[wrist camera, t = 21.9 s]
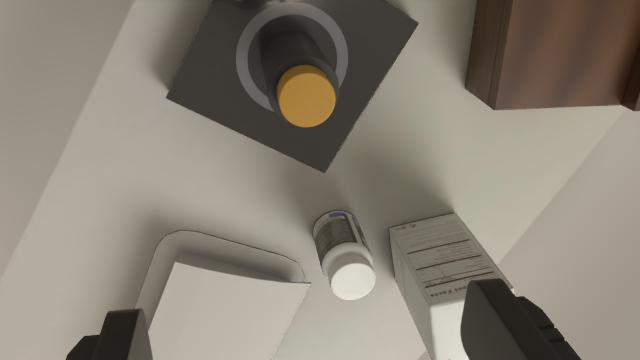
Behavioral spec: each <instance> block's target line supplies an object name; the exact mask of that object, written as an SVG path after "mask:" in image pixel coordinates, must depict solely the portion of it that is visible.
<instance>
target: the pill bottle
mask: <svg viewBox="0 0 640 360" xmlns="http://www.w3.org/2000/svg"><path fill="white" fill-rule="evenodd" d="M313 237H314V241H315V245H316V249H317V253H318V257H319V260H320V265H321V269H322V272H323V275H324V277H325V278H326V279H327V281H329V283H330V286H331V289H332V291H333V293H334V294H335V295H336V296H338V297H339V298H341V299H345V300H354V299H358V298H361V297H363V296H365V295H366V294H368V293H369V292H370V291H371V289H372V288H373V286H374V284H375V273H374V270H373V258H372V254H371V252H370V250H369V248H368V245H367V243H366V240H365V238H364V236H363V233H362V231H361V228H360V226H359V224H358V222H357V220H356V218H355V217H354V216H352V215H351V214H349V213H347V212H344V211H332V212H329V213H327V214H325V215H323V216H322V217H321V218H320V219H319V220H318V221H317V222H316V224H315V226H314V230H313Z"/></svg>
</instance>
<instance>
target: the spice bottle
mask: <svg viewBox="0 0 640 360" xmlns="http://www.w3.org/2000/svg"><path fill="white" fill-rule="evenodd" d="M262 67H263V73H264V78H265V84H266V89H267V95H268V100H269V103H270V105H271V107H272V109H273V110H274V112H275V113H276V114H277V115H278V116H279V117H280V118H281V119H283V120H284V121H286V122H289V123H291V124H294V125H296V126H300V127H312V126H316V125H318V124H320V123H322V122H324V121H325V120H326V119H327V118H328V117H329V116H330V114H331V113H332V111H333V109H334V107H335V105H336V103H337V100H338V97H339V81H338V78H337V75H336V73H335V72H334V70H333V68H332V67H331V65H330V64H329V62H328V61H327V59H326V58H325V56H324V54H323V53H322V51H321V50H320V48H319V47H318V45H317V44H316V42H315V41H314V40H313V39H312V38H311V37H309V36H308V35H306V34H304V33H301V32H297V31H288V32H284V33H281V34H279V35H277V36H275V37H274V38H273V39H271V40H270V42H269V43H268V44H267V46H266V47H265V49H264V52H263V56H262Z"/></svg>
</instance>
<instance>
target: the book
mask: <svg viewBox="0 0 640 360" xmlns="http://www.w3.org/2000/svg"><path fill="white" fill-rule="evenodd" d="M303 275H304V273H303V271H302V270H301V268H300V266H299V265H298V263H296V262H294V261H292V260H291V259H289V258H287V257H285V256H281V255H278V254H274V253H271V252H267V251H263V250H260V249H256V248H253V247H249V246H246V245H242V244H239V243H235V242H231V241H228V240H224V239H221V238H217V237H214V236H210V235H206V234H203V233H199V232H193V231H181V230H180V231H177V232H174V233H171V234H168V235H165V237H164V238H163V239H162V240H161V241H160V243H159V244H158V245H157V247H156V250H155V253H154V256H153V258H152V261H151V264H150V266H149V269H148V272H147V275H146V277H145V280H144V283H143V286H142V288H141V291H140V294H139V297H138V299H137V302H136V305H135V307H134V309H139V308H142V309H143V311H144V313H145V318H146V324H147V329H148V334H149V339H150V345H151V350H152V356H153V360H271V359H272V358H273V356H274V354H275V352H276V350H277V348H278V346H279V344H280V342H281V340H282V338H283V336H284V334H285V333H286V331H287V329H288V327H289V325H290V323H291V321H292V319H293V317H294V315H295V313H296V311H297V310H298V308H299V306H300V304H301V302H302V300H303V298H304V296H305V294H306V292H307V290H308V288H309V286H310V285H311V282H303Z"/></svg>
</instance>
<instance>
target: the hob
mask: <svg viewBox="0 0 640 360" xmlns="http://www.w3.org/2000/svg"><path fill="white" fill-rule="evenodd" d="M417 25H418V22H416V21H415V20H413V19H412V18H410V17H409V16H407V15H405V14H404V13H402V12H401V11H399V10H398V9H396V8H394V7H393V6H391V5H390V4H388V3H387V2H385V1H383V0H211V2H210V4H209V6H208V9H207V11H206V13H205V15H204V17H203V19H202V21H201V23H200V25H199V28H198V30H197V32H196V34H195V36H194V38H193V40H192V42H191V44H190V47H189V49H188V51H187V53H186V55H185V57H184V59H183V61H182V63H181V66H180V68H179V70H178V72H177V74H176V76H175V78H174V80H173V82H172V85H171V87H170V89H169V91H168V94H167V96H166V98H167V99H169V100H171V101H173V102H175V103H177V104H179V105H181V106H183V107H186V108H188V109H190V110H192V111H194V112H196V113H198V114H200V115H203V116H205V117H207V118H209V119H211V120H213V121H215V122H217V123H219V124H222V125H224V126H226V127H228V128H230V129H232V130H234V131H236V132H239V133H241V134H243V135H245V136H247V137H249V138H251V139H253V140H256V141H258V142H260V143H262V144H264V145H266V146H268V147H270V148H272V149H275V150H277V151H279V152H281V153H283V154H285V155H287V156H289V157H292V158H294V159H296V160H298V161H300V162H302V163H304V164H306V165H309V166H311V167H313V168H315V169H317V170H319V171H321V172H323V173H325V172H326V170H327V169H328V167H329V166H330V164H331V162H332V161H333V159H334V158H335V156H336V155H337V153H338V151H339V150H340V148H341V147H342V145H343V143H344V142H345V140H346V139H347V137H348V135H349V134H350V132H351V131H352V129H353V127H354V126H355V124H356V123H357V121H358V119H359V118H360V116H361V115H362V113H363V111H364V110H365V108H366V107H367V105H368V104H369V102H370V100H371V99H372V97H373V96H374V94H375V92H376V91H377V89H378V88H379V86H380V84H381V83H382V81H383V80H384V78H385V76H386V75H387V73H388V72H389V70H390V68H391V67H392V65H393V64H394V62H395V61H396V59H397V57H398V56H399V54H400V53H401V51H402V49H403V48H404V46H405V45H406V43H407V41H408V40H409V38H410V37H411V35H412V33H413V32H414V30H415V29H416V27H417ZM288 31H297V32H301V33H304V34H306V35H308V36H309V37H311V38H312V39H313V40H314V41H315V42H316V44H317V45H318V47H319V48H320V50H321V51H322V53H323V54H324V56H325V58H326V59H327V61H328V62H329V64H330V65H331V67H332V68H333V70H334V72H335V73H336V75H337V78H338V81H339V97H338V100H337V103H336V105H335V107H334V109H333V111H332V113H331V114H330V116H329V117H328V118H327V119H326V120H325V121H324V122H322V123H320V124H318V125H316V126H312V127H300V126H296V125H294V124H291V123H289V122H286V121H284V120H283V119H281V118H280V117H279V116H278V115H277V114H276V113H275V112H274V110H273V109H272V107H271V105H270V103H269V100H268V95H267V89H266V84H265V78H264V73H263V67H262V56H263V52H264V49H265V47H266V46H267V44H268V43H269V42H270V40H271V39H273V38H274V37H275V36H277V35H279V34H281V33H284V32H288Z"/></svg>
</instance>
